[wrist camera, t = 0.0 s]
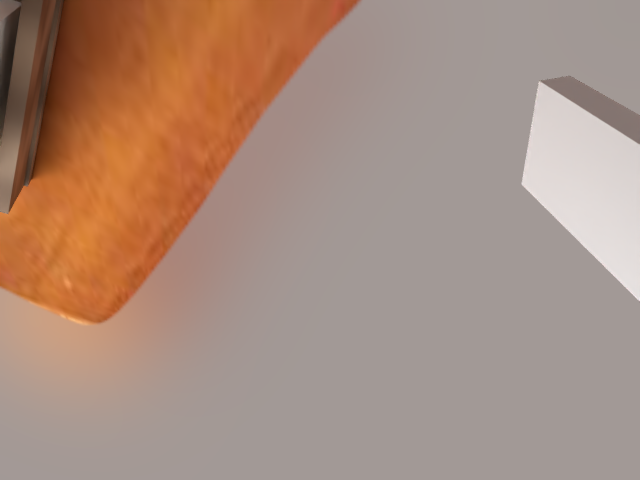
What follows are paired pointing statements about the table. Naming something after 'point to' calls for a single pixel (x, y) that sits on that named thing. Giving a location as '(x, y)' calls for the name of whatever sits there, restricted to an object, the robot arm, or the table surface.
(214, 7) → the table surface
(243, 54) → the table surface
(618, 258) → the robot arm
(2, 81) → the tall board
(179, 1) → the table surface
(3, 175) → the offcut rack
